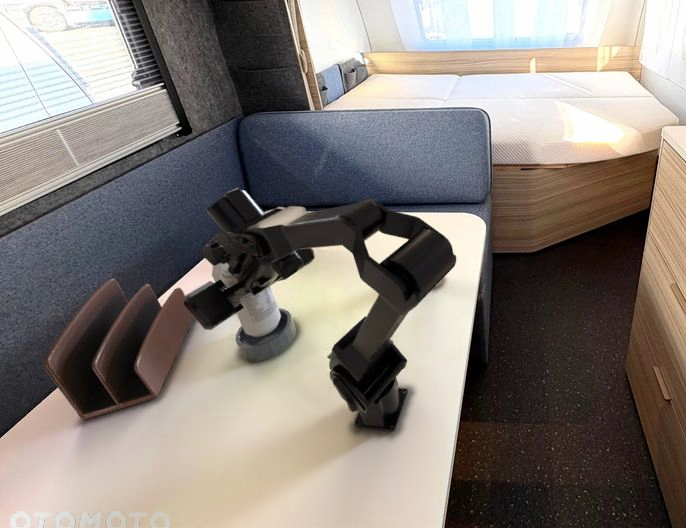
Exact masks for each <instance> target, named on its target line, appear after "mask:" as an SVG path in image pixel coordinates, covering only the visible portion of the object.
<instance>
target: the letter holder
mask: <svg viewBox="0 0 686 528" xmlns="http://www.w3.org/2000/svg"><path fill="white" fill-rule="evenodd" d="M185 297H186V294H185V292H184V290H183V289H182V288H181V287H176V288H174V289H173V291H172V292H171V294H169V296H168V297H167V299H166V300H165V302H164V303H163V304H162V305H161V302H159V299H158V297H157V296H156V294H155V292H154V290H153V288H152V286H151V284H148V283H146V284H144V285H142V286H141V287H140V288H139V289H138V291H136V293H135V294H134V295H133V296H132V297H131V298H130V300H129V301H128V300H127V298H126V296H125V294H124V292H123V290H122V288H121V286H120V285H119V283H118V281H117V279H115V278H110V279H108V280H106V281H105V282H104V283H103V284H102V285H101V286H99V287H98V289H97V290H95V291H94V292H93V293H92V294H91V295H90V296H89V298H88V299H86V301H85V302H84V303H83V304H82V305H81V307H80V308H79V309H78V310H77V312H76V313H75V314H74V315H73V317H72V318H71V320H70V321H69V322H68V323H67V325H66V326H65V327H64V329H63V330H62V332H61V333H60V334H59V336H58V337H57V339H56V340H55V341H54V343H53V345H52V346H51V348H50V349H49V351H48V352H47V354H46V356H45V358H44V359H43V369H44V370H45V372H46V374H47V375H48V376H49V377H50V379H51V380H52V382H53V383H54V384H55V386H56V387H57V388H58V390H59V391H60V392H61V393H62V395H63V396H64V397H65V399H66V400H67V402H68V403H69V404H70V406H71V407H72V409H74V412H76V413H77V415H78V417H79V418H80V419H81V420H83V421H87V420H88V419H91V418H95V417H98V416H101V415H104V414H108V413H111V412H115V411H118V410H121V409H125V408H128V407H132V406H135V405H137V404H141V403H144V402H147V401H151V400H155V399H157V398H158V396H159V393H160V391H161V390H162V387H163V385H164V383H165V381H166V379H167V377H168V374H169V372H170V370H171V368H172V366H173V363H174V361H175V359H176V356H177V355H178V353H179V350H180V348H181V346H182V344H183V341H184V340H185V337H186V335H187V333H188V331H189V328H190V326H191V324H192V322H193V320H194V318H195V317H194V316H193V315H192V314H191V312H190V311H189V310H188V309H187V308H186V306H185V305H184V300H185Z"/></svg>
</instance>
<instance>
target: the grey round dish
mask: <svg viewBox="0 0 686 528" xmlns="http://www.w3.org/2000/svg"><path fill="white" fill-rule="evenodd" d="M278 309H279V312H280V314H281V318H280V320H279V323H278V325H277V327H276V328H275V329H274V330H273V331H271V332H270V333H268V334H266V335H263V336H259V337H253V336H251V335H248V334H246V333H245V332H244V329H243V327H242V325H240V327H239V328H238V330H237V331H236V334H235V339H234V340H235V343H236V345H237V347H238V349H239V351H240V354H241V355H242V357H243V358H244V359H245V360H247V361H250V362H261V361H265V360H268V359H271V358H273V357H275V356H278V354H280V353H282V352H283V351H285V350H286V349H287V347H288V348H289V346H290V345H291V344H292V343H293V341H294V339H295V338H296V333H297V329H296V325H295V322H294V319H293V317H292V314H291V313H290V311H289V310H288V309H284V308H278Z"/></svg>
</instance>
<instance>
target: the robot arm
mask: <svg viewBox="0 0 686 528" xmlns="http://www.w3.org/2000/svg"><path fill="white" fill-rule="evenodd" d="M273 209H274V210H272V209H271V210H272V211H270V212H268V213H266V214H265V213H264V212H265V211H264V210H263V209H262V208H261V207H260V206H259V204H258V203H257V202H256V201H255V200H254V199H253V198H252V196H251V195H250V194H249V193H248V191H247V190H243V189H241V188H239V187H237V188H235V189H232V190H229V191H227V192H225V193H224V195H223V196H222V197H221V198H220V199H218V200H217V201H215V202H214V203H212V204H211V206H210V207H207V209H206V214H207V215H208V216H209V217H210V218H211V219H212V221H213V222H214V223H215V225H216V226H217V227H218V228H219V229H220V230H221V232H220V233H219V234H216V235H215V236H214V237H213V239H211V240H209V241H207V244H206V245H205V246H204V247H203V249H202V254H203V257H204V259H205V260H206V261H207V262H209V263H210V264H211V265H212V267H213V266H216V265H218V264H220V263H222V264H225V263H227V264H228V265H229V268H228V271H229V272H230V273H231V274H232V275H235V274H236V275H237V276H236V277H235V278H236V280H237V281H238V283H236V284H235V285H233V286H232V287H228V288H227V286H226V285H225V284H224V283H223V282H222V280H221V279H220V280H218V281H217V282H215V281H214V282H213V281H212V280H209V281H207V282H206V283H204V284H202V285H201V286H199V287H197V288H195V289H194V290H191V292H188V293H187V294H185V296H186V297H185V300H184V305H185V306H186V308H187V309H188V310H189V311H190V312H191V314H192V315H193V316H194V317H193V318H195V320H196V321H197V322H198V323H199V324H200V326H201V327H202V328H203V330H205V331H212V330H214V329H215V328H216V327H218V326H219V325H221V324H222V323H224V322H225V321H227V320H228V319H230V318H231V317H233V316H234V315H236V313H237V312H238V311H240V310H241V309H243V308H244V307H243V306H242V304H241V303H240V299H241V298H243V297H244V296H246V295H247V294H249V293H250V292H251V293H252V294H253V295H254V296H256V295H258V294H259V293H260V292H262V291H263V290H265V289H266V288H268V287H269V286H270V287H271V286H273V285H274V284H275V283H277V282H280V281H286V280H287V279H289V278H290V277H291V276H293V275H295V274H296V273H298V272H299V271H300V270H302V269H304V268H305V267H306V266H308V265H309V264H311V263H313V261H314V260H315V258H316V254H315V251H314V249H316V248H317V249H318V248H329V247H340V246H341V247H344V248H345V249H346V250H347V251H348V252H350V253H351V254H352V256H353V260H354V263H355V266H356V269H357V273H358V276H359V279H360V280H361V281H362V282H363V283H365V284H366V285H367V286H368V287H370V288H371V289H372V290H373V291H374V292H375V293H377V296H376V299H375V300H374V302H373V304H372V305H371V307H370V309H369V311H368V313H367V314H366V315H365V316H363V317H362V318H361V319H360V320H359V321H358V322H357V323H356V324H354V326H353V327H352V328H351V329H350V330H348V332H346V333H345V334H344V335H343V336H342V337H341V338H339V340H337V342H335V343H334V344H333V347H331V352H330V353H329V354H328V355H327V356H326V358H327V359H329V361H328V362H329V363H328V366H329V370H330V371H329V378H330V380H331V382H332V385H333V387H334V388H335V389H336V391H337V393H338V395H339V396H340V398H341V399H342V400H343V401H345V403H346V404H347V408H348V410H349V412H351V413H355V412H358V414H357V416H356V418H355V420H354V423H353V425H354V427H355V428H356V429H364V430H374V431H385V432H395V430H397V427H398V424H399V421H400V418H401V415H402V412H403V410H404V407H405V403H406V401H407V397H408V394H409V390H408V388H406V387H404V388H403V387H399V383H398V379H397V377H398V376H399V374H400V373H401V372H402V371H403V370H404V369H405V368H407V364H408V359H407V357H406V356H405V355H404V354H403V353H402V352H401V351H400V350H399V349H398V347H397V346H396V344H394V341H393V340H392V339H391V338H392V337H393V336H394V334H395V333H396V332H397V330H398V328H399V327H400V325H401V324H402V322H403V321H404V320H405V318H406V317H407V316H408V314H409V312H411V311H413V310H414V309H415V308H416V307H417V306H418V305H419V304H420V303H421V302H422V301H423V300H424V299H425V298H426V297H427V296H428V295H429V293H430V292H432V290H433V289H435V288H436V287H437V286H436V285H437V284H438V283H439V282H440V281H441V282H442V280H443V279H444V278H445V277H446V276H447V275H448V274H449V273H450V272H451V271H452V269H454V268H455V266H456V264H457V255H456V254H454V253H455V252H454V249H453V245H452V243H451V242H450V240H449V239H448V238H447V237H446V236H445V235H444V234H443V233H442V232H440V231H438V230H437V229H436V228H435V227H433V226H431V225H430V224H429V223H427V222H426V221H424V220H423V219H422V218H420V217H418V216H415V215H411V214H407V213H402V212H398V211H395V210H391V209H388V208H387V207H385V205H383V204H382V203H380V202H378V201H377V200H375V199H371V198H369V199H363V200H361V201H359V202H357V203H352V204H347V205H340V206H336V207H330V208H325V209H319V210H313V211H308V210H307V209H306V207H304V206H297V205H296V206H295V205H289V206H287V207H284V206H278V207H275V208H273ZM378 232H380V233H381V234H384V235H388V236H393V237H397V238H400V239H401V238H402V239H406V241H405V242H404V243H403V244H402V245H400V246H399V247H398V248H396V249H395V250H394V251H393V252H392V253H390V254H389V255H388V256H387V257H385V259H383V260H382V261H380V263H379V262H378V261H377V260H375V258H373V257H371V256H370V253H369V251H368V248H367V245H366V242H365V241H367V240H368V239H369V238H371V237H373V236H374V235H375V234H377V233H378ZM435 286H436V287H435ZM243 288H244V289H245V290H244V289H243ZM242 289H243V290H242ZM240 290H242V291H243V292H242V291H240ZM239 291H240V293H237V292H239ZM235 293H237V294H238V295H237V294H235Z"/></svg>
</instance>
